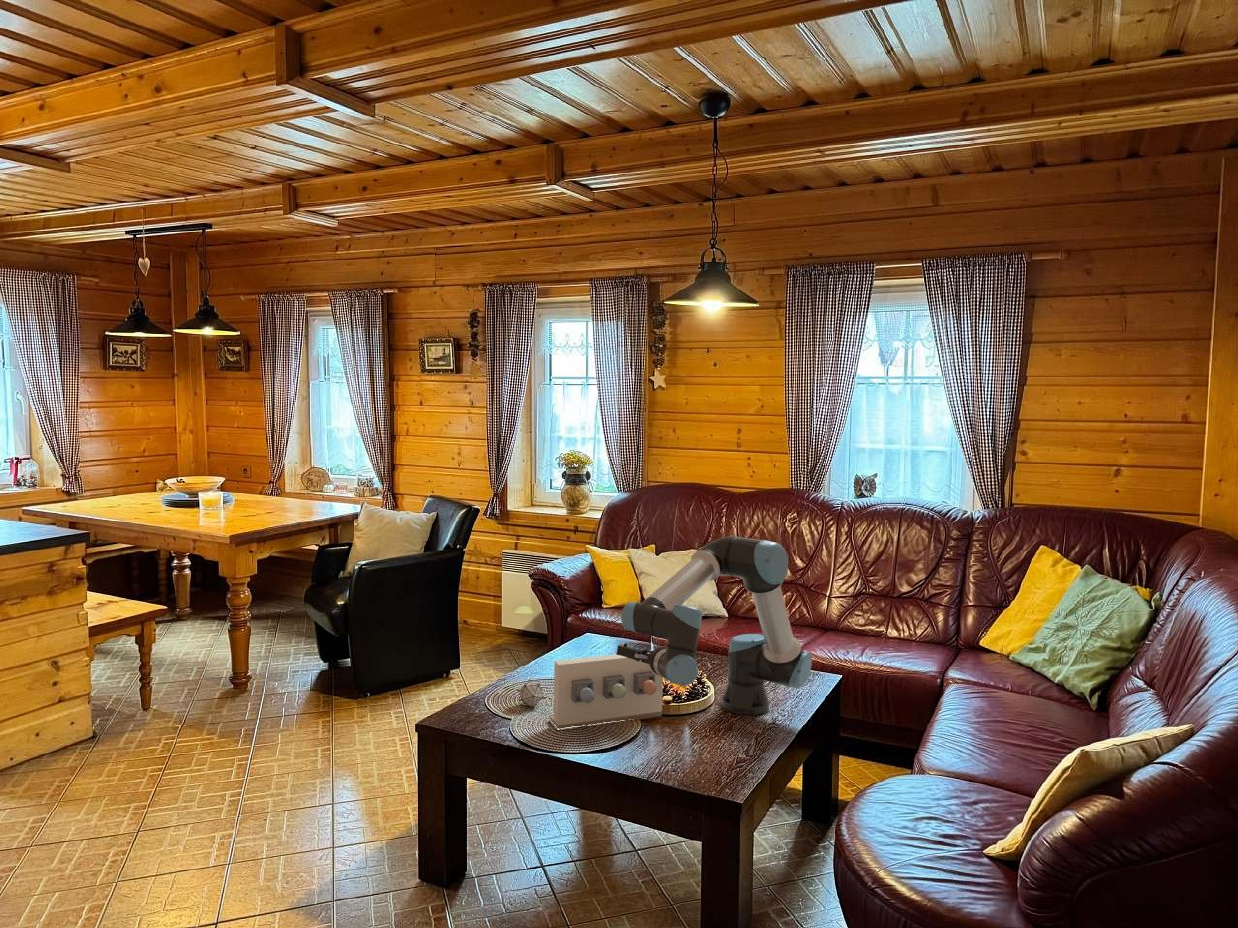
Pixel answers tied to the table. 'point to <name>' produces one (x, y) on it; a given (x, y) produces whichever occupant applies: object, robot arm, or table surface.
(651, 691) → the terracotta button
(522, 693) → the game die
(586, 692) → the slate button
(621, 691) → the sage button
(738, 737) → the table surface
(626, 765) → the table surface
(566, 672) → the button panel
